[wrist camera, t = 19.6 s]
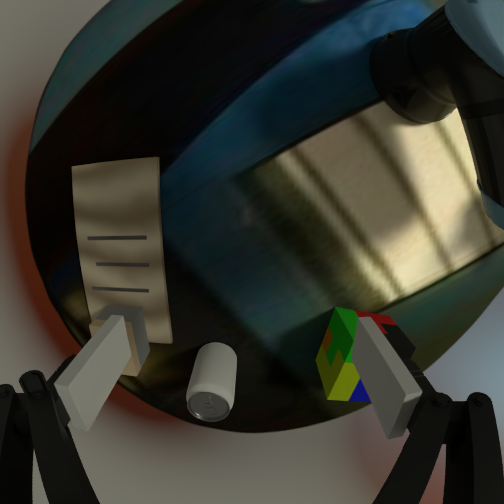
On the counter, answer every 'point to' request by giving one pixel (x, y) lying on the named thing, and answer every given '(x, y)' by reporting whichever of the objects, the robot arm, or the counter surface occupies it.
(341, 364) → the puzzle toy
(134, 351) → the block
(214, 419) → the can
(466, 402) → the robot arm
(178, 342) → the counter surface
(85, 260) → the board
